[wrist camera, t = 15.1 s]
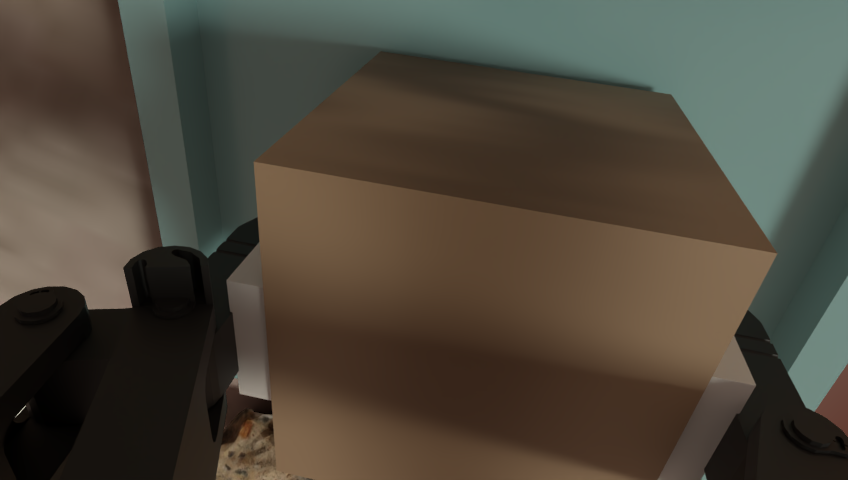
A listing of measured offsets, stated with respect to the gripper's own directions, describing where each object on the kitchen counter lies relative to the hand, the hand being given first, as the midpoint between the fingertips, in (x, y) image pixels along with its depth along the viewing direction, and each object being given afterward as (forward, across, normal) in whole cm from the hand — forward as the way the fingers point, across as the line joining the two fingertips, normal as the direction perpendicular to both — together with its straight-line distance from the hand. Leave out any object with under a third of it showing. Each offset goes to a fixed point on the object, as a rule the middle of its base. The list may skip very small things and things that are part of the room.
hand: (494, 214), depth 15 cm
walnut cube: (0, 0, 0) cm, 0 cm away
